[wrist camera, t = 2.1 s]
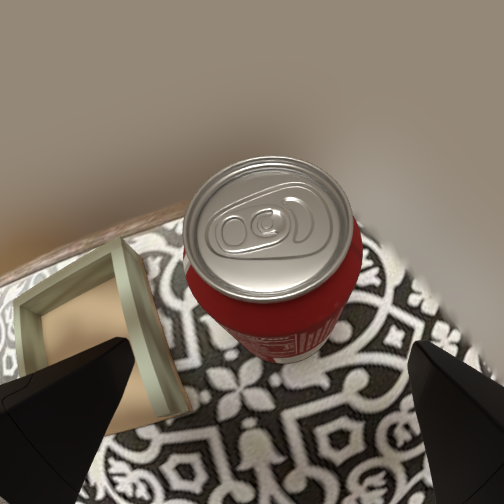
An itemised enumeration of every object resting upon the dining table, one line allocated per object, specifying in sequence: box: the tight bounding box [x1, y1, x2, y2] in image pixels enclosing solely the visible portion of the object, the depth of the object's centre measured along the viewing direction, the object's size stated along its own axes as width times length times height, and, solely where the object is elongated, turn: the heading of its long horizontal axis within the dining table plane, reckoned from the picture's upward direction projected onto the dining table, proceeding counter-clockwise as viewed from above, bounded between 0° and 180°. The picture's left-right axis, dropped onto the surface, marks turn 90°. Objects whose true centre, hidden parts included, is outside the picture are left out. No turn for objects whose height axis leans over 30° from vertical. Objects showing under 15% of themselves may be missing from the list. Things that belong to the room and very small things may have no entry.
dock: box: [13, 236, 193, 436], centre depth 18 cm, size 13×13×4 cm
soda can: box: [182, 155, 363, 364], centre depth 14 cm, size 7×7×12 cm
